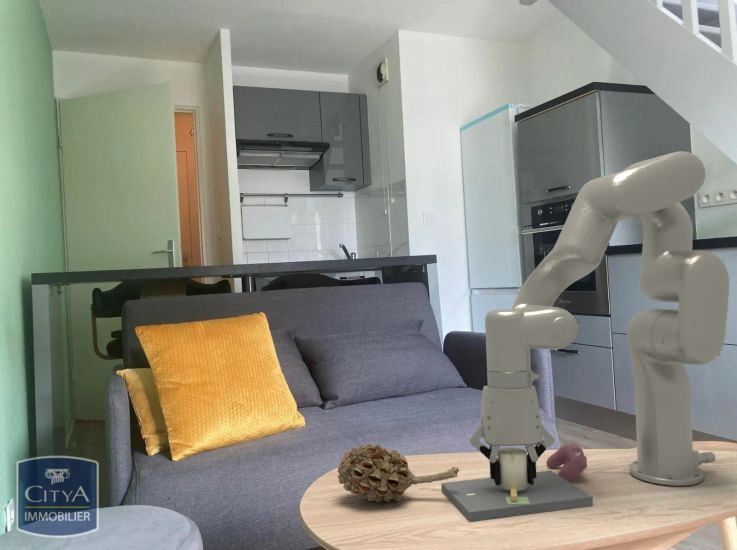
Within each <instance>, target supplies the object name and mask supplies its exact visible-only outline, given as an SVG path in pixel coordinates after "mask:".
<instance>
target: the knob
mask: <svg viewBox="0 0 737 550" xmlns="http://www.w3.org/2000/svg"><path fill="white" fill-rule="evenodd" d="M527 454H528V453H527V450H526V449H523V448H519V447H513V446H512V447H511V446H509V447H502V448H499V452H498V456H497V458H498V461H499V464H500V485H499V486H500V487H501V488H502V489H505V490H510V491H511V500H512V501H517V491H521V490H525V489H527V488H528V471H527Z"/></svg>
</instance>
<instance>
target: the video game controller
mask: <svg viewBox="0 0 737 550" xmlns="http://www.w3.org/2000/svg"><path fill="white" fill-rule="evenodd" d="M587 462H588V460H587V457H586V456H585V453H584V450H583V449H582V447H580V446H579V445H577V444H575V443H568V442H565V444H562V445H561V446H560V447H559V448H558V449H557V450H556V451H555V452H554V453H552V454H551V455H550V456H548V458H547V460H546V466H547V467H548V469H556V468H559V467H561V466H562V468H561V469H560V470H559V472H558V473H557V475H559V476H560V477H562V478H564V479H565V480H567V481H568V482H571V481H573V480H574V479H576V478H577V477H578V476H579V475H580V474H582V473H583V472H584V471H585V470H586V469H587V468H588V463H587Z"/></svg>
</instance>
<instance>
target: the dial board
mask: <svg viewBox="0 0 737 550" xmlns="http://www.w3.org/2000/svg"><path fill="white" fill-rule="evenodd" d="M533 481H534V485H530V484H529V483H528V488H527V489H525V490H521V491H517V501H512V500H511V491H510V490H505V489H502V488H501V487H500V486H496V484H495V482H494V479H491V477H490V476H489V477H483V478H482V477H481V478H474V479H463V480H457V481H447V482H441V483H440V485H441V493H442V494H444V496H446V498H447V499H448V500H449V501H450V502H451V504H452V505H454V506H455V508H456V509H457V510H458V512H459V513H461V514H462V515H463V516H464V517H465V519H466V520H467V521H468V522H478V521H484V520H493V519H501V518H508V517H509V518H510V517H516V516H524V515H530V514H539V513H547V512H548V513H549V512H555V511H563V510H569V509H570V510H571V509H579V508H586V507H593V506H594V497H593V495H591V494H589V493H588V492H586V491H584V490H582V489H581V488H580V487H577V485H575V484H573V483H572V482H571V481H569V482H568V481H567V480H565V479H564V478H562V477H560V476H559V475H558V473H555V472H554V471H552V470H545V471H544V470H543V471H536V478H533Z"/></svg>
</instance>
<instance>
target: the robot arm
mask: <svg viewBox="0 0 737 550" xmlns="http://www.w3.org/2000/svg"><path fill="white" fill-rule="evenodd" d="M703 163H704V162H703V161H702V160H701V159H700V158H699V156H697V155H695V153H691V152H689V151H675V152H671V153H670V152H669V153H666V154H664V155H663V154H662V155H659V156H656V157H653V158H648V159H644V160H641V161H638V162H636V163H633V164H631V165H629V166H627V167H626V168H624V169H623V170H622V171H618V172H615V173H611V174H606V175H605V176H604V175H603V176H600V177H596V178H593V179H591V180H589V181H587V182H586V183H585V184H584V185H583V186H582V187H581V188H580V190H579V192H578V194H577V196H576V198H575V200H574V202H573V205H572V206H571V209H570V211H569V213H568V215H567V218H566V220H565V223H564V225H563V227H562V229H561V231H560V233H559V236H558V238H557V240H556V242H555V244H554V247H553V248H552V250H551V251H550V252H549V253H548V254H547V255H546V256H544V258H543V259H542V260H541V262H539V264H538V265H537V266H536V267H535V268H534V270H533V271H532V272H531V273H530V275H528V276H527V278H526V280H525V281H524V283H523V284H522V286H521V288H520V290H519V292H518V294H517V297H516V299H515V302H514V303H513V306H512V307H511V308H504V309H503V308H502V309H501V308H500V309H493V310H490V311H488V312H486V314H485V319H484V320H485V321H484V326H485V346H486V347H485V349H486V371H487V372H486V374H487V375H486V376H487V378H486V379H487V385H484V386H483V388H482V394H481V402H480V403H481V404H480V425H479V426H478V428H477V429H476V430H475V431H474V433H473V434H472V435H471V437H469V443H470V445H471V446H472V447H474V448H475V450H478V451H479V452H480V453H481V454H482V455H483V456H484V457H485V458H486V459H488V460H489V478H490V477H491V479H494V482H495V484H496V486H499V485H500V464H499V461H498V452H499V449H501V447H506V446H507V447H508V446H509V447H511V446H512V447H513V446H524V447H525V450H526V451H527V471H528V483H529V484H530V485H534V481H533V478H536V472H537V462H538V461H539V458H540V457H541V456H542V455H543V454H544V452H546V450H547V449H549V448H550V447H551V446H553V444H554V443H555V442H556V439H555V438H554V437H553V436H552V434H550V432H549V431H548V430H547V429H546V427H544V425H543V424H542V419H541V418H542V417H541V416H542V415H541V412H540V404H539V397H538V394H537V389H536V386H535V385H534V384H533V382H534V381H536V380H540V378H541V377H540V376H541V375H540V372H539V371H533V370H532V368H531V349H540V350H553V351H554V350H561V349H564V348H566V347H568V346H570V345H571V344H572V343H573V342H574V341H575V339H576V337H577V336H578V331H579V325H578V322H577V320H576V318H575V316H574V315H573V314H572V313H570V312H569V311H568V310H566V309H564V308H562V307H557V306H554V305H555V302H556V300H557V299H558V298H559V296H560V295H561V294H562V293H563V292H564V291H565V290H566V289H567V288H568V287H569V286H571V285H572V284H573V283H575V282H577V281H579V280H581V279H583V278H584V277H586V276H588V275H589V274H590V273H592V272H593V271H595V270H596V269H597V268H598V267H599V266H600V264H601V262H602V260H603V257H604V255H605V252H606V250H607V248H608V246H609V244H610V241H611V239H612V236H613V234H614V232H615V231H616V230H615V229H616V227H617V226H618V223H619V222H620V221H626V220H632V219H633V220H634V219H637V218H639V219H640V222H641V224H642V232H643V233H642V234H643V237H642V249H641V251H642V252H641V260H640V262H641V263H640V272H639V273H640V275H639V287H640V290H641V292H642V294H643V295H644V296H645V297H646V298H647V299H648V300H649V299H650V300H652V301H656V302H662V303H677V304H678V309H669V308H668V309H667V308H650V309H648V308H647V309H644V310H642V311H640V312H638V313H636V314H635V315H633V317H632V318H631V319H630V321H629V323H628V325H627V329H626V341H627V345H628V350H629V353H630V357H631V363H632V367H633V368H632V369H633V378H634V401H635V402H634V403H635V404H634V406H635V407H634V408H635V429H636V431H635V432H636V452H637V456H636V457H637V460H634V461H632V462H631V463H629V465H628V466H629V467H628V470H629V473H630V474H631V475H632V476H634V477H635V478H637V479H639V480H641V481H645V482H648V483H650V484H651V483H652V484H658V485H663V486H664V485H665V486H673V487H675V486H676V487H677V486H678V487H679V486H683V487H685V486H693V485H696V484H699V483H701V482H702V481H703V480H704V472H703V470H702V469H701V468H699V467H700V466H701V465H702V464H703V463H704V464H708V463H715V462H716V458H717V457H716V455H715V453H714V452H712V451H707V452H701V453H699V450H694V448H693V446H694V445H693V426H692V425H693V420H692V401H691V400H692V399H691V398H692V397H691V383H690V378H689V375H688V372H687V369H686V367H685V365H691V366H692V365H693V366H704V365H708V364H711V363H712V362H714V361H715V360H717V358H718V357H719V356H720V354H721V353H722V350H723V347H724V344H725V343H724V342H725V339H726V331H727V329H726V328H727V322H728V321H727V319H728V308H729V307H728V306H729V297H730V295H729V294H730V277H729V272H728V270H727V266H726V265H725V262H724V261H723V260H722V259H721V258H720V257H719V256H718V255H716V254H715V253H714V252H710V251H708V250H701V249H697V250H693V240H694V239H693V236H694V234H693V233H694V232H693V231H694V230H693V228H694V226H693V222H692V219H691V216H690V215H689V213H688V211H687V210H686V207H684V206H683V205H682V203H681V202H682V201H685V200H688V199H690V198H692V197H693V196H695V195H696V194H697V193H698V192H699V191H700V190H701V189H702V187H703V185H704V183H705V180H706V168H705V166H704V165H705V164H703ZM482 438H483V439H484V440H483V441H484V443H485V444H486V445H488V447H487V446H486V445H485V444H484V443H482V442H481V439H482Z"/></svg>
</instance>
